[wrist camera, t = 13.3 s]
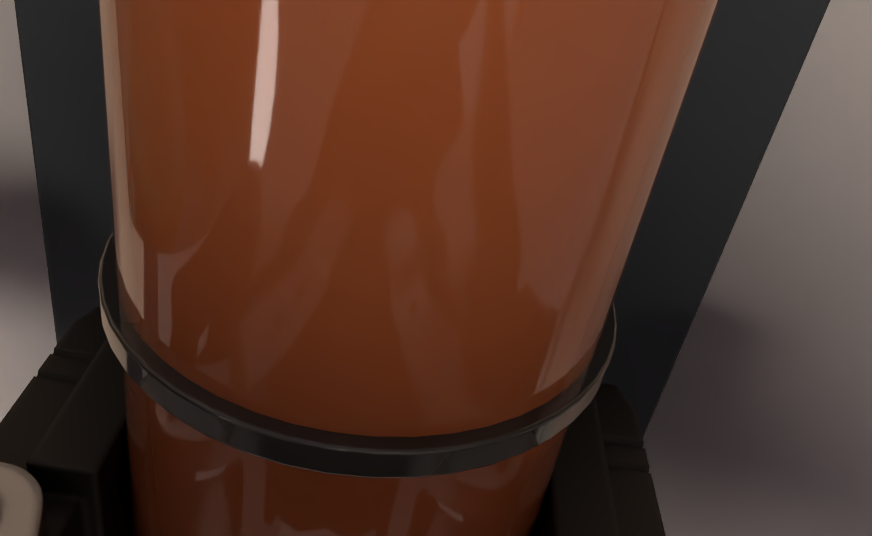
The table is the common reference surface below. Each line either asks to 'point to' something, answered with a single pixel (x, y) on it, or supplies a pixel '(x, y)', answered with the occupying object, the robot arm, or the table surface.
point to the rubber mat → (657, 236)
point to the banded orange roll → (372, 249)
